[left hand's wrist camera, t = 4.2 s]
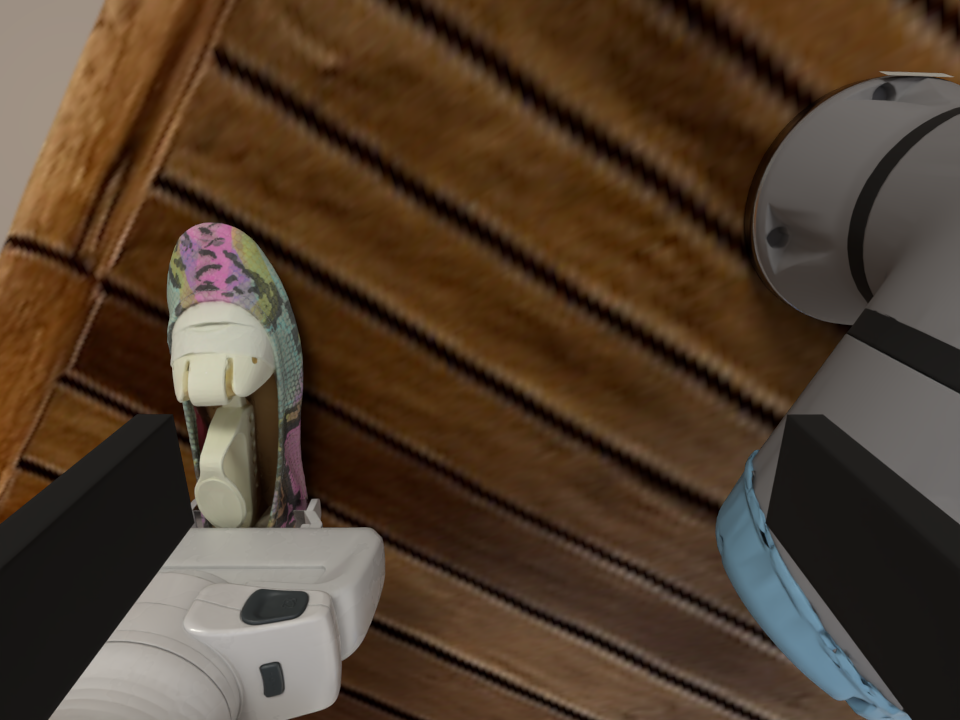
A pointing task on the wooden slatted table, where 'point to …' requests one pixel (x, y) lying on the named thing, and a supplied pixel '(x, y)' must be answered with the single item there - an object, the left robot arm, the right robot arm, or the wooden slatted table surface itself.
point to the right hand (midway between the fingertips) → (260, 506)
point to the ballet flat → (236, 378)
